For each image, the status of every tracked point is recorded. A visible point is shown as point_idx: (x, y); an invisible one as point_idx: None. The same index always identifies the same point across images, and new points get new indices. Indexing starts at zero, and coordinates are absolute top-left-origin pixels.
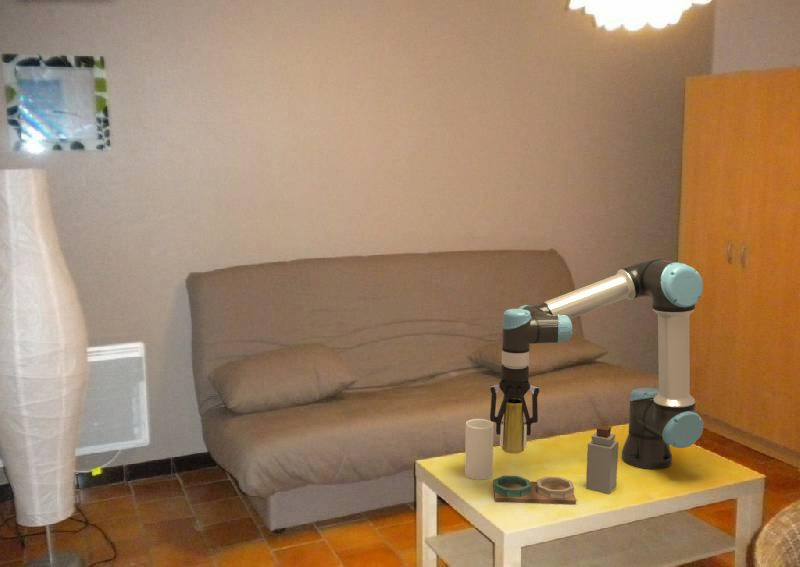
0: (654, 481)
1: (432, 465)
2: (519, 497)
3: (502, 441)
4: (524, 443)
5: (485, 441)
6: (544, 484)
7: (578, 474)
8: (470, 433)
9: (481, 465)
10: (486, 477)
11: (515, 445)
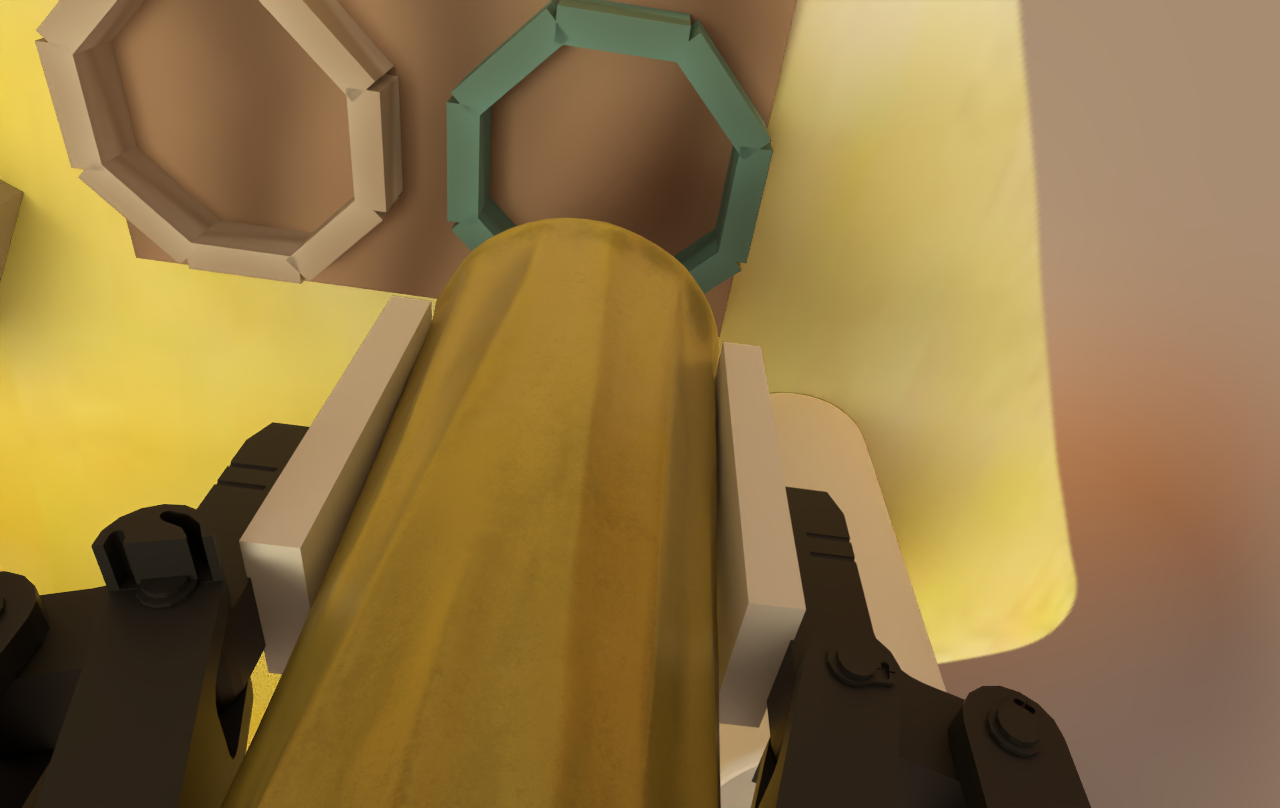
0: None
1: (1018, 590)
2: None
3: (736, 389)
4: (401, 330)
5: None
6: (331, 216)
7: (110, 419)
8: None
9: (796, 460)
10: None
11: (550, 280)
